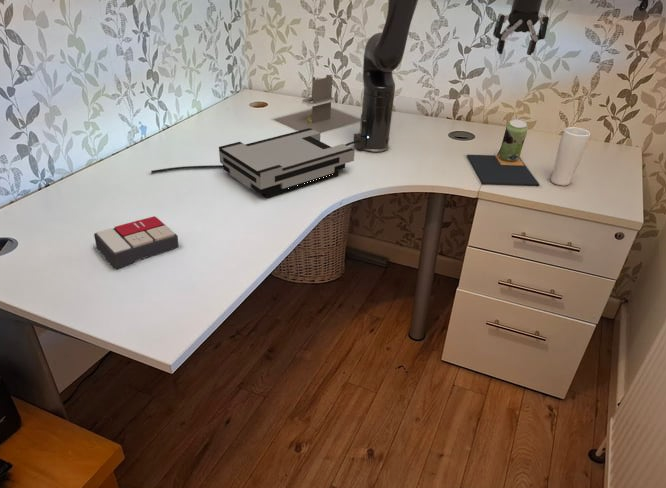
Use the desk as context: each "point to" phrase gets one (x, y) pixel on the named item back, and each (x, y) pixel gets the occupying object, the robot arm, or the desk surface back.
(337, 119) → the architectural model
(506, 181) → the desk mat
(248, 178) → the game console
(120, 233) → the button panel
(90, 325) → the desk surface
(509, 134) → the beverage can
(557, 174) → the drinking glass
